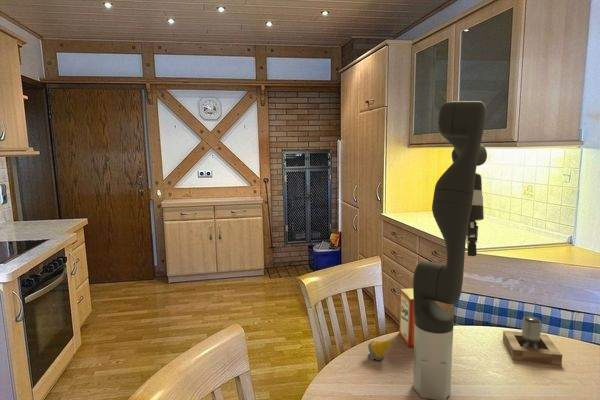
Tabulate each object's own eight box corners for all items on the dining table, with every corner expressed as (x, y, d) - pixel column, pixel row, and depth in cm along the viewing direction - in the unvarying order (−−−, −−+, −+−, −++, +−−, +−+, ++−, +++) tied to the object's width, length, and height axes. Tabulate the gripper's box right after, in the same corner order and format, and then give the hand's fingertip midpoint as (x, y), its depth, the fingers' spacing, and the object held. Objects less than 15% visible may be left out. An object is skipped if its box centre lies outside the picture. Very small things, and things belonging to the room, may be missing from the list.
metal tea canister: (541, 356, 115) (543, 323, 114) (523, 354, 117) (525, 321, 115) (536, 348, 120) (538, 316, 119) (518, 346, 121) (521, 315, 120)
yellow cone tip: (374, 351, 120) (397, 336, 115) (375, 367, 115) (400, 352, 111) (361, 343, 118) (384, 328, 114) (362, 359, 114) (386, 343, 109)
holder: (561, 365, 111) (562, 355, 110) (512, 359, 114) (513, 349, 113) (546, 344, 123) (547, 335, 122) (502, 339, 126) (503, 330, 125)
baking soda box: (399, 333, 131) (400, 287, 129) (418, 332, 131) (419, 286, 129) (409, 347, 121) (410, 298, 119) (429, 346, 122) (431, 297, 120)
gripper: (484, 202, 118) (486, 256, 116) (481, 207, 131) (483, 256, 129) (458, 202, 121) (459, 255, 118) (457, 208, 134) (458, 255, 131)
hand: (471, 256), depth 123 cm, fingers open, 8 cm apart
